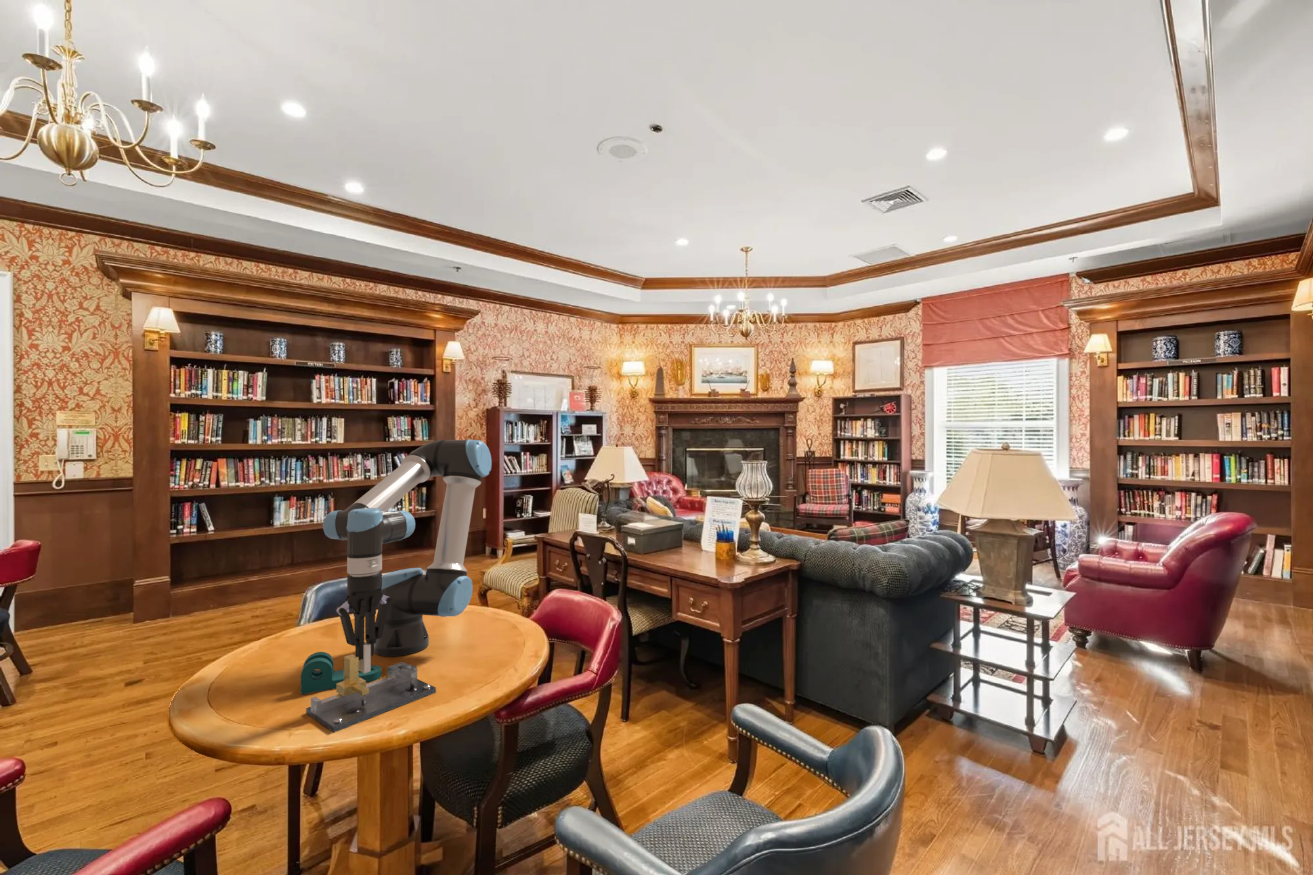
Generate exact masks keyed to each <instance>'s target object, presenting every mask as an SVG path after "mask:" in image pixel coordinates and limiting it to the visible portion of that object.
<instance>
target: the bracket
mask: <svg viewBox="0 0 1313 875" xmlns="http://www.w3.org/2000/svg"><path fill="white" fill-rule="evenodd" d="M359 677H360V678H362V679H364V680H366V684H369V683H372V682H375V681H378V680H380V679H382V678H381V677H382V666H380V665H377V664H371V671H370V672H367V673H363V672H361V671H359ZM343 681H344V669H339V670H334V658H333V657H332V655H331V654H330V653H328V652H326V651H325V652H324V651H317V652H314V653H312V654H310V655H308V656H307V658H306V659H305V661H304V663H303V666H302V669H301V673H300V695H306V694H313V693H318V692H323V691H328V690H329V691H330V690H336V684H337V683H340V682H343Z"/></svg>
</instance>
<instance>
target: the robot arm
mask: <svg viewBox="0 0 1313 875" xmlns="http://www.w3.org/2000/svg"><path fill="white" fill-rule="evenodd" d="M492 463H493V462H492V455H491V451H490V449H489V447H488V446H487V444H486V443H485V442H484V441H482V440H479V439H478V440H477V439H470V438H469V439H438V440H434V441H430V442H427V443H425V444H424V445H422V446H419V447H418V448H416V449H414V450H413V451H412V452H410V453H408V455H406V456H405V457H404V458H403V459H402V460H401V464H400V465H399V466H398V467H396V469H394V470H392V471H391V472H390V473H389V474H388V475H387V476H385V477H384V478H383V479H382V480H380V481H379V482H378V483H377V484H375V485H374V486H373V487H372V488H370V489H369V491H368V490H367V492H366V493H365V494H363V495H362V496H361V497H359V499H357V500H356V501H354V503H352V504H351V505H349V507H347V508H346V509H344V510H342V509H340V510H333V511H330V512H329V513H328V514H326V516H325V518H324V520H323V522H322V530H323V532H324V535H325V536H326V537H328V538H329V539H332V540H339V541H347V553H346V555H347V556H346V557H347V559H346V560H347V564H346V573H347V574H348V576H347V577H346V586H347V587H346V590H347V594H346V596H345V597H346V598H345V602H344V603H342V605H340V606H336V607H335V609H334V610H335V612H336V614H338V616H339V617H340V618H339V619H340V623H341V626H342V630H343V634H344V638H345V641H346V644H348V645H350V646H352V647H355V650H354V651H355V653H354V655H355V656H358V657H359V671H361V672H363V673H367V672H370V671H371V665H372V663H371V662H372V660H371V657H373V656H374V654H375V655H378V656H380V657H381V656H382V657H400V656H407V655H411V654H414V653H415V654H416V653H417V652H421V651H422V650H424V649H426V648H427V647H429V643H430V637H429V636H430V635H429V633H428V631H427V628H426V625H425V621H424V619H423V616H433V617H440V618H445V617H456V616H457V617H458V616H459V615H461V614H462V613H463V612H464V611H465V610H466V609H467V607H468V605H469V604H470V602H471V599H472V595H473V590H474V588H473V586H474V585H473V581H472V579H471V578H470V576H468V569H467V568H466V567H465V566H464V563H465V561H464V560H465V556H466V549H467V544H468V538H469V537H468V536H469V530H470V524H471V518H472V512H473V505H474V499H475V493H476V489H477V488H478V487H479V486H480V485H481V484H482V479H483V478H485V477H487V476H489V475H490V472H491V471H492ZM440 476H441V477H442V480H443V482H444V483H445V484H446V488H445V494H444V501H443V505H442V509H441V510H442V511H441V516H440V522H439V523H440V524H439V527H438V534H437V539H436V546H435V551H434V556H433V562H432V563H431V564H430V565H428V566H427V568H426V571H425V574H424V571H423V569H422V568H421V567H410V568H405V569H400V570H395V571H391V572H388V573H386V574H384V575H383V573H382V572H381V571H382V570H383V545H384V544H388V543H394V542H398V541H399V542H400V541H403V539H406V538H409V537H410V536H411V535H412V534H413V533H414V531H415V529H416V520H415V517H414V516H413V515H412V514H411V512H409V511H407V510H394V511H389V510H390V509H392V508H393V507H394V506H395V505H396V504H397V503H398V502H400V501H401V499H403V497H404V496H406V495H407V494H408V493H409V492H410V491H411V490H412V489H414V488H415V487H416V486H417V485H418V484H421V483H424V482H426V481H428V480H429V479H430V478H433V477H440ZM377 607H378V609H377ZM349 608H350V609H351V610H352V611H353V614H352V615H353V617H354V622H353V623H354V624H353V623H352V620H351V616H350V614H349V612H350V609H349ZM353 625H354V627H353Z"/></svg>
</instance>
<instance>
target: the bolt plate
mask: <svg viewBox="0 0 1313 875" xmlns="http://www.w3.org/2000/svg"><path fill="white" fill-rule="evenodd" d="M435 693H437V687H435V686H434V685H432V684H430V683H428V682H425V681H423V680H421V679H418V678H417V679H416V680H414V689H410V681H408V682H405V683H402V684H399V685H397V686H394V687H391V688H388V689H385V690H383V691H380V692H377V693H374V694H372V695H369V696H366V705H365V706H362V698H360V699H358V700H355V701H352V702H349V703H346V704H344V705H341V706H338V707H335V708H333V709H330V710H327V711H324V712H321V714H319V715H315V714H314V713H312V712H311V706H309V707H306V708H305V714H306V715H307V716H308V717H311V718H312V719H314V720H315V721H316V722H318V723H320V724H321V725H322V726H324V727H325V728H327V729H328V730H330V731H331V732H333V733H336V732H338V731H341V730H345V729H347V728H349V727H350V726H353V725H356V724H359V723H361V722H364V721H366V720H369V719H371V718H374V717H376V716H380V715H382V714H384V713H387V712H389V711H392V710H394V709H397V708H399V707H403V706H405V705H407V704H410V703H412V702H416V701H417V700H420V699H422V698H425V697H428V696H430V695H433V694H435Z"/></svg>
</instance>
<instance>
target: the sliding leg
mask: <svg viewBox="0 0 1313 875" xmlns="http://www.w3.org/2000/svg"><path fill="white" fill-rule="evenodd" d="M343 670H344V681H343V682H340V683H337V684H336V689H335V692H336V693H337V694H340V695H342V696H344V697H345V696H348V695H351V694H353V693H356V692H357V693H358V694H360V695H362V706H365V705H366V694H368V693H369V688H367V687H366V684H367V683H366V680H364V679H362V678H360V677H359V657H358V656H355V654H353V653H352V654H349V655H345V656H343Z"/></svg>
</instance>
